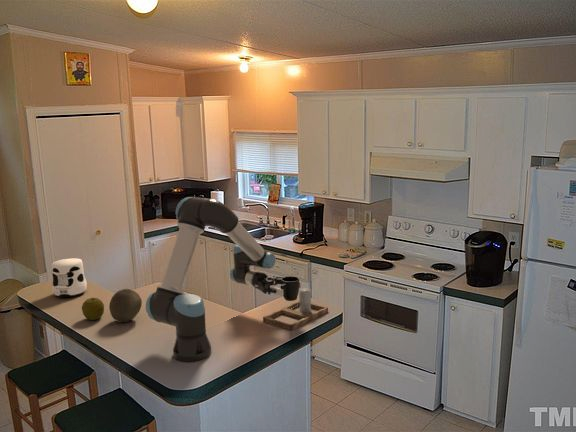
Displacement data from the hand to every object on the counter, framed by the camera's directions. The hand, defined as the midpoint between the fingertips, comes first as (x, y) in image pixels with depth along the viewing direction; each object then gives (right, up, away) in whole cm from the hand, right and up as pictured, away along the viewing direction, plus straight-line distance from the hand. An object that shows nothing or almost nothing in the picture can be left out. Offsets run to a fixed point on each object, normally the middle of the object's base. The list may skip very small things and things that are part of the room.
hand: (291, 288), depth 235 cm
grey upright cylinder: (+7, -13, +16) cm, 22 cm away
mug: (-1, -6, +3) cm, 7 cm away
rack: (+2, -14, +11) cm, 18 cm away
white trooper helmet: (-120, -10, +50) cm, 130 cm away
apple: (-94, -17, +15) cm, 97 cm away
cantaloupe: (-77, -17, +11) cm, 80 cm away
